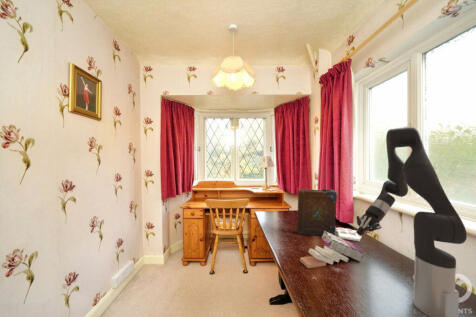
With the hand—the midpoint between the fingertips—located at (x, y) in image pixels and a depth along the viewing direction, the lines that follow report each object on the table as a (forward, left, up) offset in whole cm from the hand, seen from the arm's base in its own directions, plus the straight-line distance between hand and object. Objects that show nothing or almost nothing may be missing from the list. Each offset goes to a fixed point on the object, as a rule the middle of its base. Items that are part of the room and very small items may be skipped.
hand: (358, 234), depth 92 cm
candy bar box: (0, 0, -10) cm, 10 cm away
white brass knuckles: (+23, -16, -13) cm, 31 cm away
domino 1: (0, +22, -11) cm, 25 cm away
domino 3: (0, +9, -11) cm, 14 cm away
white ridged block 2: (0, +14, -11) cm, 18 cm away
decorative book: (+29, +4, -12) cm, 32 cm away
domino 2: (0, +18, -11) cm, 21 cm away
